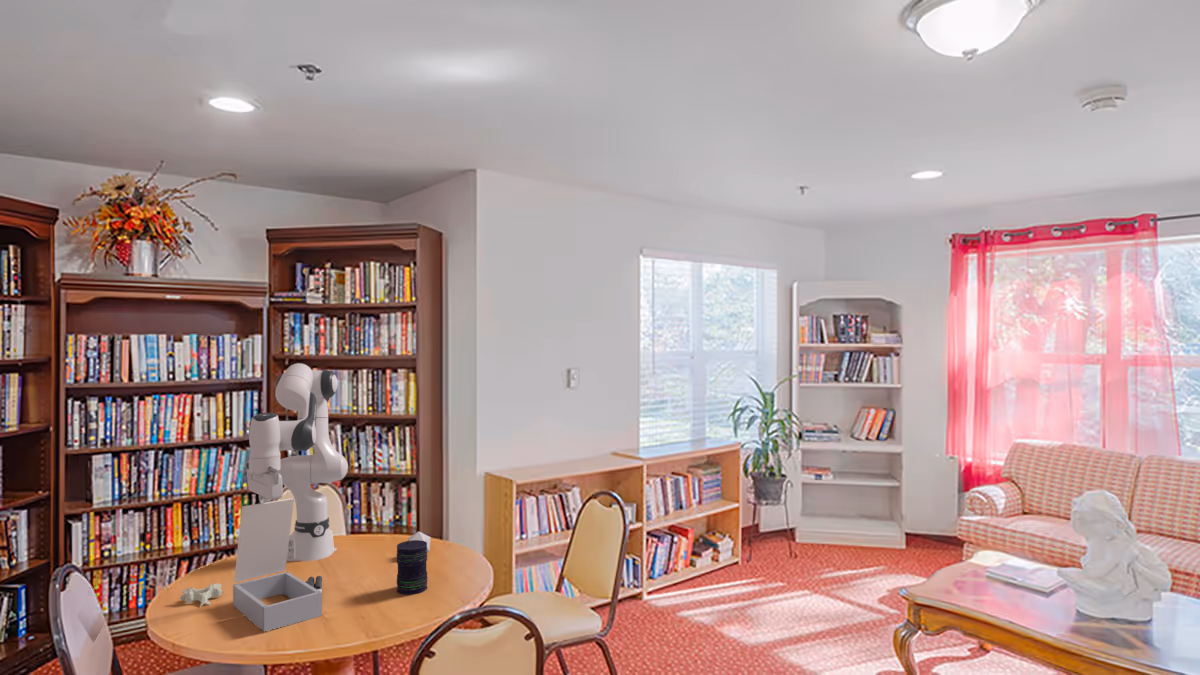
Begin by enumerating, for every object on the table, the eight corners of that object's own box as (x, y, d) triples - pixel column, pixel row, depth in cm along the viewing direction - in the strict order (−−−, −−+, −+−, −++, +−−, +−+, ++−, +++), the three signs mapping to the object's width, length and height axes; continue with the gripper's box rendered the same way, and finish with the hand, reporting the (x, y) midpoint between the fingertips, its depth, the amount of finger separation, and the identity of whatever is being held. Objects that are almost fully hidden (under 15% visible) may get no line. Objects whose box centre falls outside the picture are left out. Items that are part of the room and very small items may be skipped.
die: (435, 556, 259) (435, 530, 259) (417, 562, 251) (417, 535, 251) (419, 552, 263) (419, 526, 263) (401, 559, 256) (401, 532, 256)
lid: (235, 582, 211) (234, 581, 211) (285, 570, 222) (284, 569, 222) (242, 507, 206) (241, 506, 206) (293, 499, 217) (292, 497, 217)
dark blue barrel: (433, 589, 224) (433, 544, 224) (406, 597, 217) (406, 551, 217) (417, 582, 231) (417, 538, 231) (391, 589, 224) (390, 544, 224)
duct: (233, 607, 210) (233, 584, 210) (287, 592, 222) (287, 571, 222) (264, 632, 192) (264, 608, 192) (321, 615, 203) (321, 592, 203)
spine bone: (182, 616, 207) (183, 602, 206) (178, 599, 214) (179, 585, 214) (226, 608, 214) (227, 594, 213) (221, 592, 222) (222, 578, 221)
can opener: (321, 603, 213) (320, 583, 213) (303, 605, 211) (303, 585, 212) (323, 583, 231) (323, 564, 231) (307, 585, 229) (307, 566, 229)
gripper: (288, 468, 208) (288, 513, 208) (263, 460, 223) (264, 502, 223) (266, 471, 204) (266, 516, 204) (243, 462, 218) (243, 505, 218)
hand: (265, 509), depth 213 cm, fingers closed
